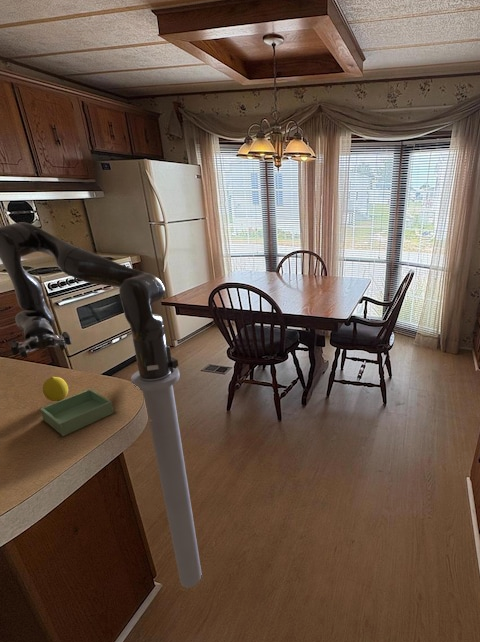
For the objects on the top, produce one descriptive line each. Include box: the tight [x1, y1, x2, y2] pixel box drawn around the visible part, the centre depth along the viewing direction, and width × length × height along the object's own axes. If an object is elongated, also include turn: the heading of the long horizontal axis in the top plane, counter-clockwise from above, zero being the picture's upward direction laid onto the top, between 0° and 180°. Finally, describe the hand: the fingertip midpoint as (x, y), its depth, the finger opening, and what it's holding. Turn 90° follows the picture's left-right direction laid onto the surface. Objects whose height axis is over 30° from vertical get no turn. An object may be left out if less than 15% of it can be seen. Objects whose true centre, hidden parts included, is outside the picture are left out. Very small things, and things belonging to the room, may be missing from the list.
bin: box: [39, 388, 115, 437], centre depth 91 cm, size 12×11×4 cm
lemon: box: [42, 376, 69, 402], centre depth 96 cm, size 6×6×8 cm
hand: (44, 351), depth 100 cm, fingers open, 8 cm apart
